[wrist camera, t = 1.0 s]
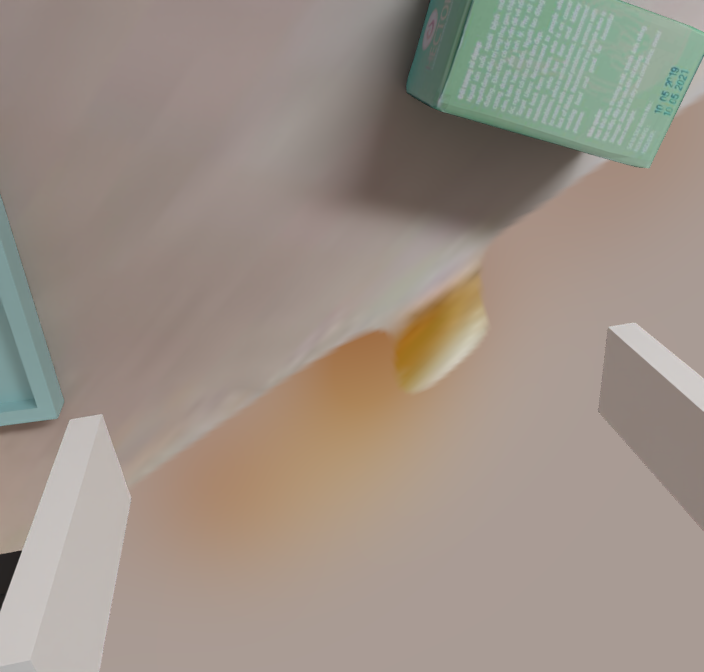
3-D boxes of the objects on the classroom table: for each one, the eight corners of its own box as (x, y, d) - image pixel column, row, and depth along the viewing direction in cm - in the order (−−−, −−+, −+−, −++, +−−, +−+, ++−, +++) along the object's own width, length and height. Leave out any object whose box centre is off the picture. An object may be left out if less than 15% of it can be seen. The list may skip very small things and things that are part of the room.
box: (435, -46, 36) (483, -54, 29) (637, 25, 39) (720, 32, 33) (396, 91, 39) (431, 112, 32) (587, 145, 42) (654, 173, 36)
